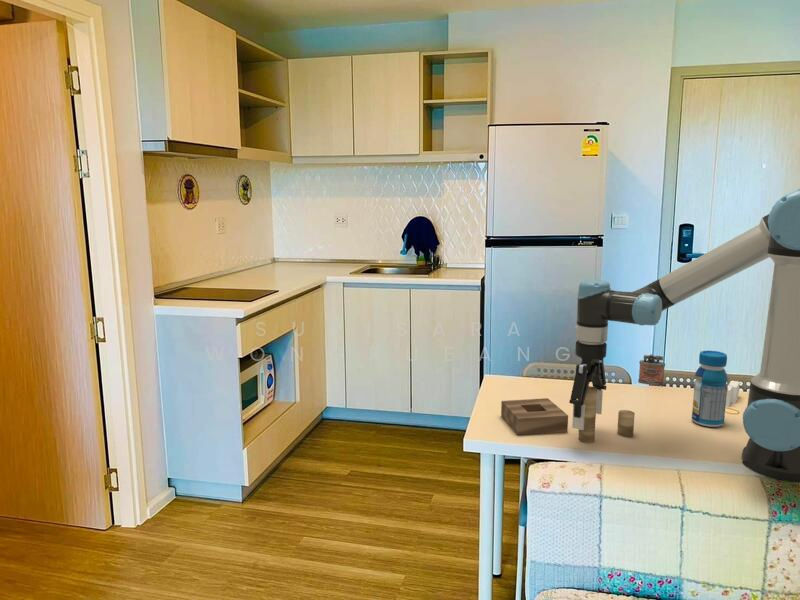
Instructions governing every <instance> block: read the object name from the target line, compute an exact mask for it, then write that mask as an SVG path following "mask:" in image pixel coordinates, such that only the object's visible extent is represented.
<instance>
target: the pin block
mask: <svg viewBox="0 0 800 600" xmlns="http://www.w3.org/2000/svg"><path fill="white" fill-rule="evenodd" d="M500 403H501V406H500V407H501V409H500V413H501V414H500V417H501V419H503V421H504V422H505V423H506V424H507V425H508V427H509V428H510V429H511V430H512V431H513V433H516V434H515V435H516V436H517V437H522V436H540V435H542V436H543V435H555V434H556V435H557V434H568V429H569V428H568V426H569V414H567V413H566V412H565V411H564V410H562V408H561V407H559V406H558V405H557V404H555V403H554V402H553V401H551V399H550V398H548V397H545V398H530V399H529V398H528V399H527V398H526V399H513V400H512V399H510V400H501V402H500Z"/></svg>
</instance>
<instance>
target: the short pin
mask: <svg viewBox="0 0 800 600" xmlns="http://www.w3.org/2000/svg"><path fill="white" fill-rule="evenodd" d="M634 429H635V411H631V410H628V409H620V410H618V413H617V429H616V430H617V432H616V433H617V435H618V436H620V437H624V438H629V437H630V438H631V437H633V436H634Z"/></svg>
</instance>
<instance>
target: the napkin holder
mask: <svg viewBox="0 0 800 600" xmlns="http://www.w3.org/2000/svg"><path fill="white" fill-rule="evenodd" d="M740 384H741V383H740V381H736V380H731V381H730V382H729V384H727V386H728V391H727V396H726V406H725V408H726V407H727V408H729V407H730V405H731V404H736V402H737V401H738V398H739V396H740V395H739V393H740Z"/></svg>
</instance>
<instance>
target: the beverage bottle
mask: <svg viewBox="0 0 800 600" xmlns="http://www.w3.org/2000/svg"><path fill="white" fill-rule="evenodd" d="M727 362H728V355H727V353H724V352H721V351H717V350H702V351H700V352H699V355H698V363H699V365H700V366H699V367H698V368H697V369H696V371H695V374H694V377H695V380H694V381H693V399H692V410H691V420H692V422H694V423H695V424H697V425H700V426H704V427H708V428H709V427H711V428H718V427H721V426H724V424H725V416H726V415H725V414H726V396H727V391H728V384H727V382H728V381H729V375H728V373H727V371H726V370H725V368H726V366H727V364H728V363H727Z"/></svg>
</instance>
